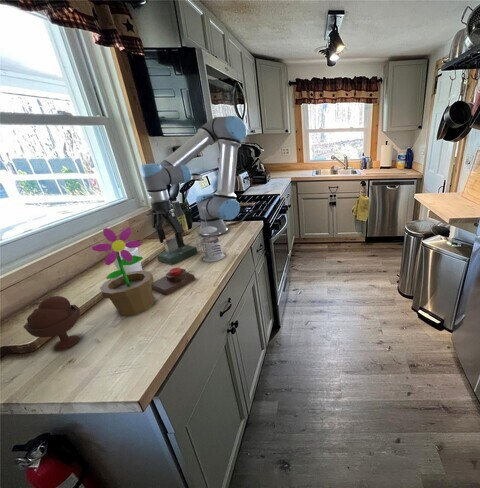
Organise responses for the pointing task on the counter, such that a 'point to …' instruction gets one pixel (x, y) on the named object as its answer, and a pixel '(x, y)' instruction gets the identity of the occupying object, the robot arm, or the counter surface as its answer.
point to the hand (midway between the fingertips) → (172, 244)
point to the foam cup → (132, 267)
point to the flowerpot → (125, 276)
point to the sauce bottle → (180, 216)
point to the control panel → (177, 254)
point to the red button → (175, 271)
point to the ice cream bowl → (54, 321)
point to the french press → (216, 247)
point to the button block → (172, 282)
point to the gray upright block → (171, 245)
